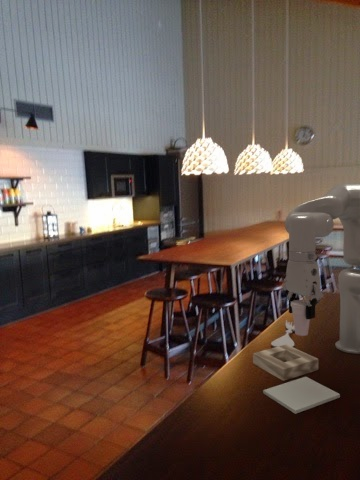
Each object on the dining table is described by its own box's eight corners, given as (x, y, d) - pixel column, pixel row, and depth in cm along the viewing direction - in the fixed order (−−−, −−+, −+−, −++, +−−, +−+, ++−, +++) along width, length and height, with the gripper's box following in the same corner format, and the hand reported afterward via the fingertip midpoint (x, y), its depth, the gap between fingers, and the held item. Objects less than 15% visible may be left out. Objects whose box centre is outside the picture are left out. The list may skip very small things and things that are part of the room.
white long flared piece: (305, 328, 188) (306, 320, 188) (291, 354, 160) (291, 345, 159) (285, 325, 192) (285, 318, 192) (268, 350, 164) (268, 342, 163)
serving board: (305, 379, 138) (305, 376, 138) (339, 397, 126) (339, 394, 126) (263, 393, 130) (263, 390, 130) (295, 413, 118) (295, 410, 117)
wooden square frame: (286, 354, 159) (286, 344, 159) (318, 369, 145) (318, 358, 145) (253, 363, 152) (253, 353, 151) (283, 380, 138) (283, 369, 137)
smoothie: (313, 337, 122) (313, 291, 120) (291, 336, 123) (291, 290, 122) (311, 330, 128) (311, 286, 126) (289, 329, 129) (289, 285, 128)
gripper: (334, 259, 117) (333, 320, 119) (290, 251, 132) (290, 306, 134) (315, 262, 113) (314, 325, 116) (272, 254, 129) (272, 310, 131)
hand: (301, 314), depth 125 cm, fingers closed on smoothie, 6 cm apart
